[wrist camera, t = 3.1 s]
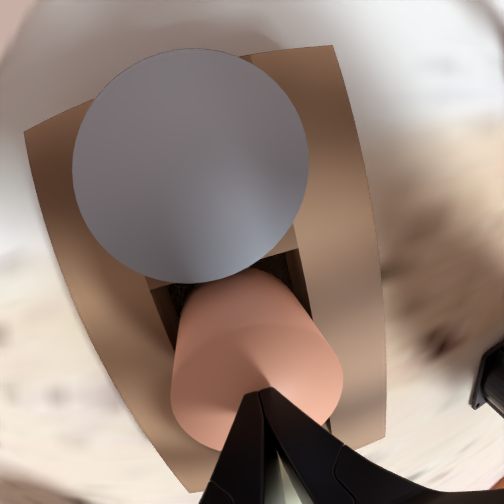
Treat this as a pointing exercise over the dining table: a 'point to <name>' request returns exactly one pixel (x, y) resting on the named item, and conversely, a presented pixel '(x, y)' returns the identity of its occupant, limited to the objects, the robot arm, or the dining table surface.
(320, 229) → the wooden compartment tray
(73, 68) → the dining table surface
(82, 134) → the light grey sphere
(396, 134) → the dining table surface
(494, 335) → the dining table surface
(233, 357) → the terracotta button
